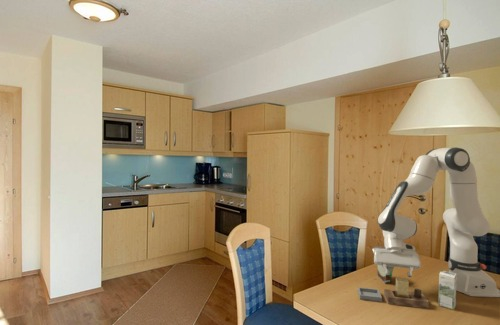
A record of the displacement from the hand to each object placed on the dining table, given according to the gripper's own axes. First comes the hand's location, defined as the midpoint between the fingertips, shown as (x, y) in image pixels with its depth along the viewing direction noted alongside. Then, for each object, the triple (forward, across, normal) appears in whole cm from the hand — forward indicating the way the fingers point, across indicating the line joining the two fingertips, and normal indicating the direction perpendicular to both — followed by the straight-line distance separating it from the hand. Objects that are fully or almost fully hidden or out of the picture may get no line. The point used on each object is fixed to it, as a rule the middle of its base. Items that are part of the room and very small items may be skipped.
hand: (398, 275), depth 135 cm
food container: (-6, -1, +20) cm, 21 cm away
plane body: (+10, +2, +4) cm, 11 cm away
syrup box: (+10, +19, +5) cm, 22 cm away
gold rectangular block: (+10, 0, +4) cm, 11 cm away
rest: (+10, -13, +5) cm, 17 cm away
